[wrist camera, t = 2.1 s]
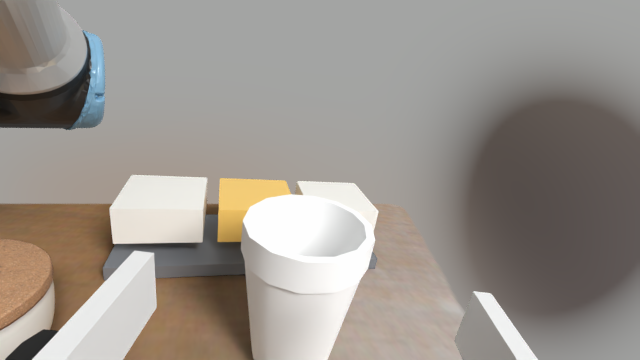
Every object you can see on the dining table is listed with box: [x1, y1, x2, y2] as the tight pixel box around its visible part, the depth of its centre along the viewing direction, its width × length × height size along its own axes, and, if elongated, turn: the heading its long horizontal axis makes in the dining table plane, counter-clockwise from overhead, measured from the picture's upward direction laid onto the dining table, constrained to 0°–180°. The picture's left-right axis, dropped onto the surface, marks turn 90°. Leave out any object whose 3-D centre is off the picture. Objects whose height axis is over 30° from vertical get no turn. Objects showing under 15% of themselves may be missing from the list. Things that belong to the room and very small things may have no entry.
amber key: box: [217, 178, 291, 242], centre depth 40 cm, size 8×8×4 cm
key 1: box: [295, 181, 378, 232], centre depth 43 cm, size 8×8×4 cm
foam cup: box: [241, 194, 375, 360], centre depth 26 cm, size 10×9×13 cm
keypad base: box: [103, 215, 377, 280], centre depth 42 cm, size 30×11×2 cm, turn 105°
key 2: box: [110, 175, 207, 244], centre depth 37 cm, size 8×8×4 cm
